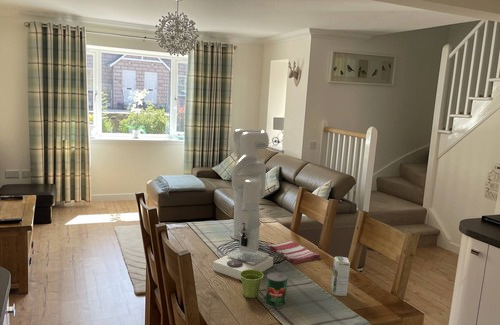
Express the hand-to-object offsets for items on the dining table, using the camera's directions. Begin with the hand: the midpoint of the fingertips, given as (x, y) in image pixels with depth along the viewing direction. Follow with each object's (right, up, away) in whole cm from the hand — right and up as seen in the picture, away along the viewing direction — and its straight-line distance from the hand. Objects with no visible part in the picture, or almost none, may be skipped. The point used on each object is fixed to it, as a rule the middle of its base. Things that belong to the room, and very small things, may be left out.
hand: (249, 243), depth 192 cm
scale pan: (0, -6, +1) cm, 6 cm away
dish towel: (+22, -9, +20) cm, 31 cm away
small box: (0, -3, +1) cm, 3 cm away
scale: (-2, -11, -1) cm, 11 cm away
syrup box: (+37, -16, -20) cm, 45 cm away
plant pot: (+1, -16, -26) cm, 30 cm away
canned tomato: (+10, -17, -31) cm, 37 cm away
